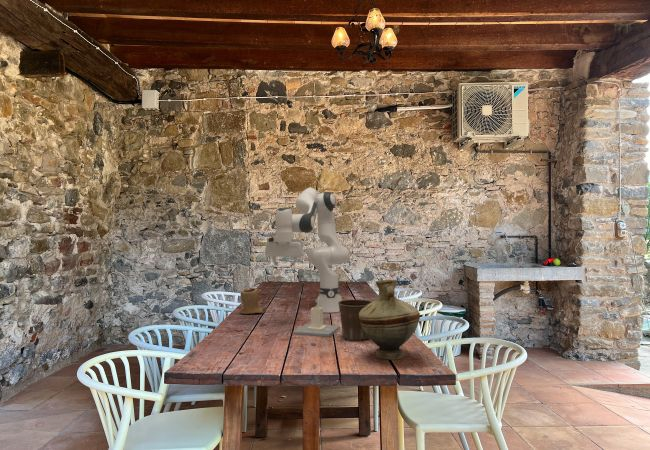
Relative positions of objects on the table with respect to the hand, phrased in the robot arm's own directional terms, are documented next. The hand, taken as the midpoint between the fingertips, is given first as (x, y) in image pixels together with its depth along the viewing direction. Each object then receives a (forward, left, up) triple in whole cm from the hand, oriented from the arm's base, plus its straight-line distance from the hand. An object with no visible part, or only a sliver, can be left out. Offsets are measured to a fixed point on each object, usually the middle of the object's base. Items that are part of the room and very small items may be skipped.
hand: (284, 265), depth 222 cm
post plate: (+14, +14, -31) cm, 37 cm away
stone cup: (-37, -16, -31) cm, 51 cm away
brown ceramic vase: (+60, +36, -31) cm, 77 cm away
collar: (+14, +14, -30) cm, 36 cm away
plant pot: (+30, +30, -31) cm, 53 cm away
